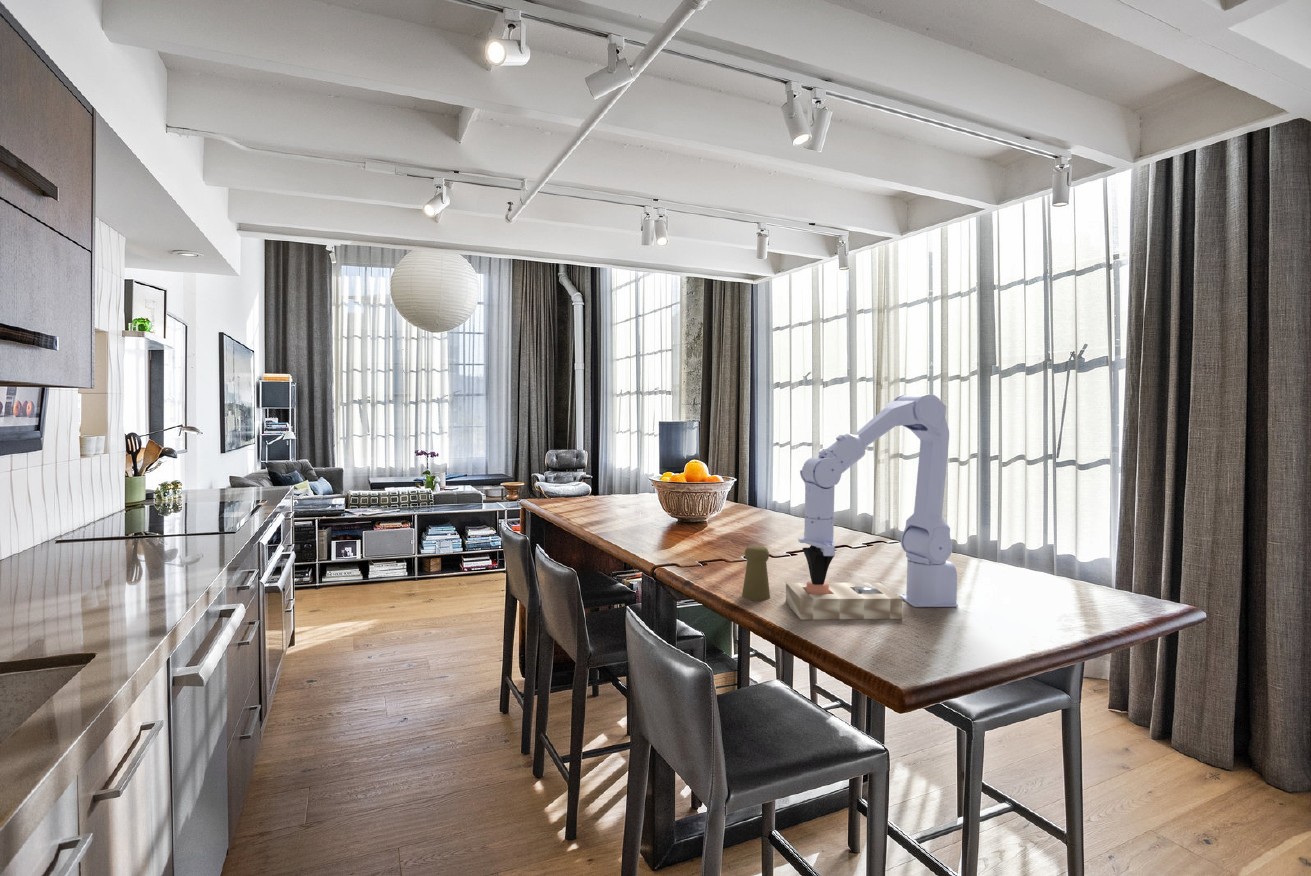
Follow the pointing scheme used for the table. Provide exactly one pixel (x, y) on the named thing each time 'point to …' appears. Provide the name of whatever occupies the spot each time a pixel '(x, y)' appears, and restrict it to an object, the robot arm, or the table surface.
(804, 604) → the button board
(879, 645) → the table surface
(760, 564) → the olive pawn
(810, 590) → the pink rounded cube
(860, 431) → the robot arm
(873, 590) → the steel plunger
